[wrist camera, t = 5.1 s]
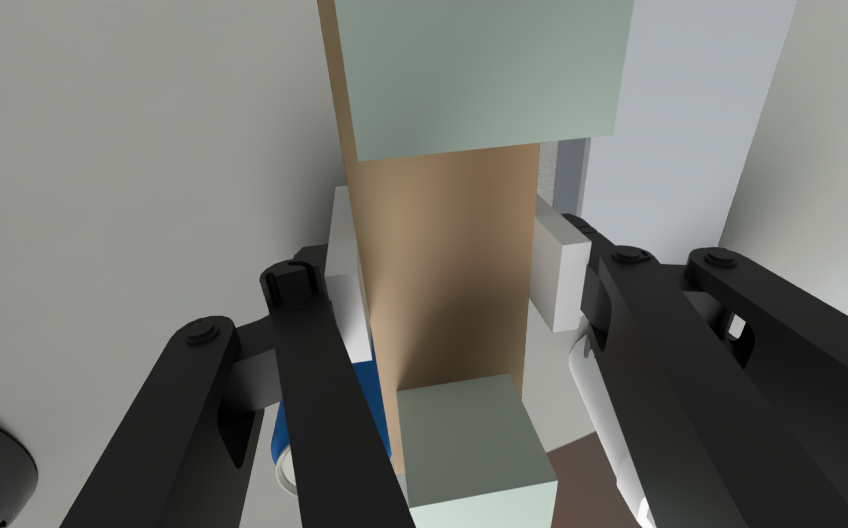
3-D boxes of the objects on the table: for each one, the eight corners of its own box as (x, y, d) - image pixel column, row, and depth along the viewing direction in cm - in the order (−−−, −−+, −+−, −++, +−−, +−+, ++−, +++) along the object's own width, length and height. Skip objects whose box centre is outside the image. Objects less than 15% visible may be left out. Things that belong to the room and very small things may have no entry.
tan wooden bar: (386, 381, 20) (395, 474, 16) (316, -80, 12) (292, -148, 7) (483, 366, 21) (517, 452, 17) (487, -88, 12) (562, -157, 8)
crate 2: (406, 464, 16) (420, 583, 12) (395, 391, 14) (409, 508, 11) (505, 446, 16) (545, 557, 13) (509, 373, 14) (558, 480, 11)
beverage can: (280, 335, 31) (241, 487, 20) (328, 274, 29) (311, 408, 19) (352, 369, 33) (349, 519, 23) (401, 315, 31) (421, 453, 21)
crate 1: (357, 116, 10) (357, 162, 6) (325, -111, 8) (299, -236, 4) (523, 100, 10) (612, 134, 6) (534, -121, 8) (672, -240, 4)
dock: (545, 286, 32) (567, 317, 29) (579, -70, 21) (622, -91, 18) (664, 270, 33) (700, 298, 29) (756, -80, 22) (831, -102, 19)
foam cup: (665, 357, 38) (793, 493, 27) (576, 405, 40) (663, 552, 28) (632, 290, 33) (770, 420, 22) (534, 348, 35) (617, 496, 24)
